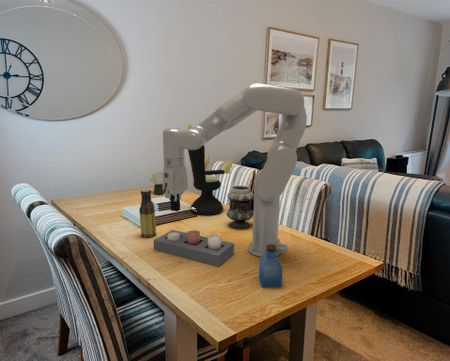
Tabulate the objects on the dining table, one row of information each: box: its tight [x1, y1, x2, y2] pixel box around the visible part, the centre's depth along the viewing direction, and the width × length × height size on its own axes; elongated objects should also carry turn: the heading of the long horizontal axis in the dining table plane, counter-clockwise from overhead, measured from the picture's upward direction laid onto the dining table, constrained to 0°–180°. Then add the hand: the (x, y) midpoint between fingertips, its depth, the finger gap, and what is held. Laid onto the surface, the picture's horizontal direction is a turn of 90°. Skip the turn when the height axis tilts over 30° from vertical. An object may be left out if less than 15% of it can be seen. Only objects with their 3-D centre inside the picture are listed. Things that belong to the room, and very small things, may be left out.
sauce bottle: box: [138, 188, 157, 239], centre depth 141 cm, size 7×6×20 cm
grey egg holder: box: [153, 229, 235, 268], centre depth 128 cm, size 28×12×4 cm, turn 62°
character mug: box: [149, 171, 164, 195], centre depth 207 cm, size 11×7×13 cm, turn 120°
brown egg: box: [186, 230, 201, 246], centre depth 128 cm, size 5×5×5 cm
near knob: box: [207, 234, 222, 251], centre depth 124 cm, size 5×5×5 cm
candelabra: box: [187, 123, 233, 216], centre depth 170 cm, size 19×22×45 cm
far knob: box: [167, 232, 180, 241], centre depth 132 cm, size 5×5×5 cm
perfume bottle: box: [258, 244, 283, 288], centre depth 107 cm, size 6×6×12 cm
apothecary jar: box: [226, 184, 254, 230], centre depth 155 cm, size 12×12×18 cm
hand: (175, 210), depth 129 cm, fingers closed
